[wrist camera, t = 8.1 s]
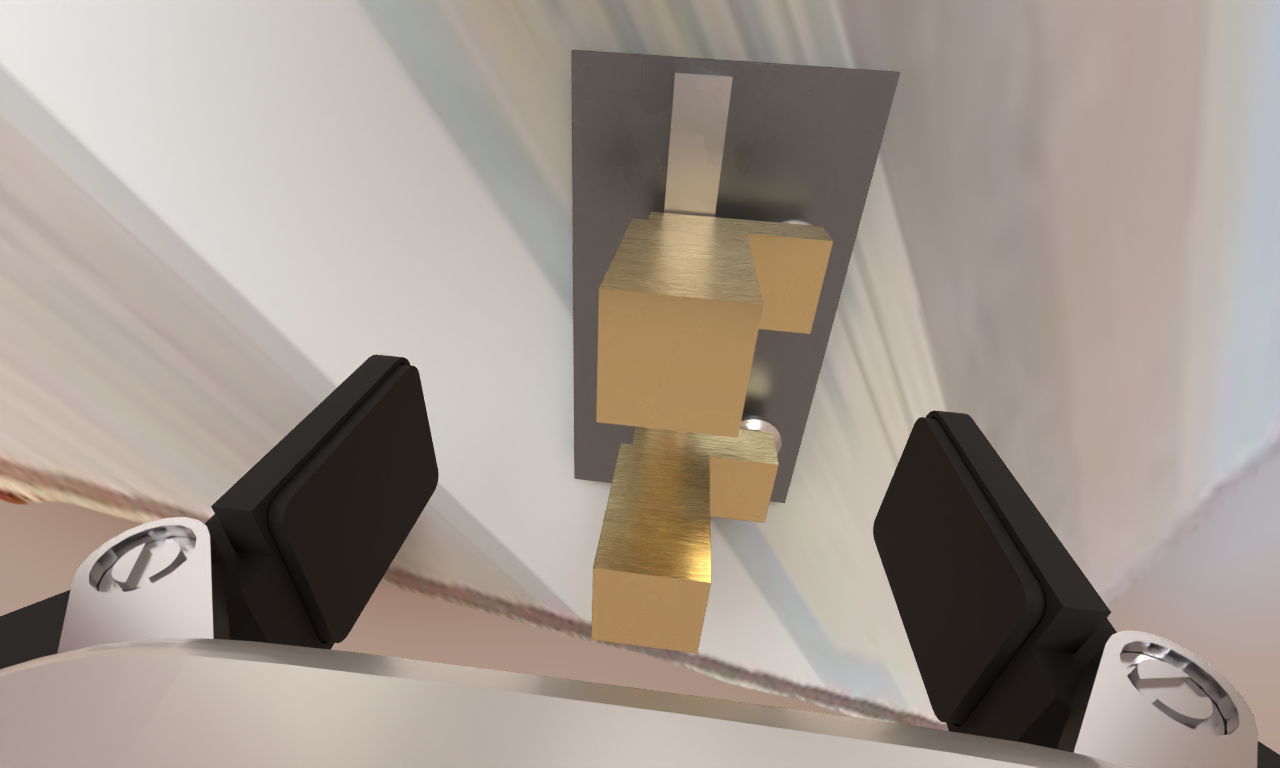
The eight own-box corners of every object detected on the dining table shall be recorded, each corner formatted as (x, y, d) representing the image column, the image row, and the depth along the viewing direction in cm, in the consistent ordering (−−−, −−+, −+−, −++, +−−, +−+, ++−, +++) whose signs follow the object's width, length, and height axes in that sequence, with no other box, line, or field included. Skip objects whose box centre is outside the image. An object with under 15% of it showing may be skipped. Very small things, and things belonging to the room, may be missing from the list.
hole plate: (578, 50, 21) (453, 38, 11) (890, 71, 20) (1083, 80, 10) (578, 465, 32) (517, 659, 22) (782, 488, 31) (820, 701, 21)
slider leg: (641, 198, 22) (599, 288, 13) (818, 213, 21) (895, 316, 13) (636, 291, 24) (596, 422, 15) (797, 306, 23) (850, 450, 15)
